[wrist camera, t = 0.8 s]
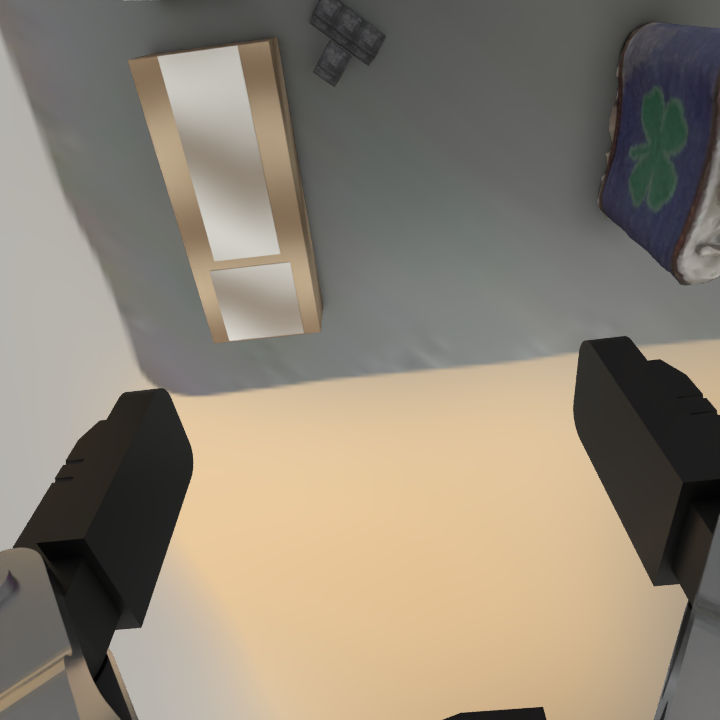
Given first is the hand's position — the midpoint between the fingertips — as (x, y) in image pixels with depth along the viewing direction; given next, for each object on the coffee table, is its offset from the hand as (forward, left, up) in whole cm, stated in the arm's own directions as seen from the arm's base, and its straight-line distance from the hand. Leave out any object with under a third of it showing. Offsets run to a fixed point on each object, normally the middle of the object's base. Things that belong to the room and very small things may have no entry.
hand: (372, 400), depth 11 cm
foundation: (+1, -6, -21) cm, 22 cm away
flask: (0, +14, -21) cm, 25 cm away
